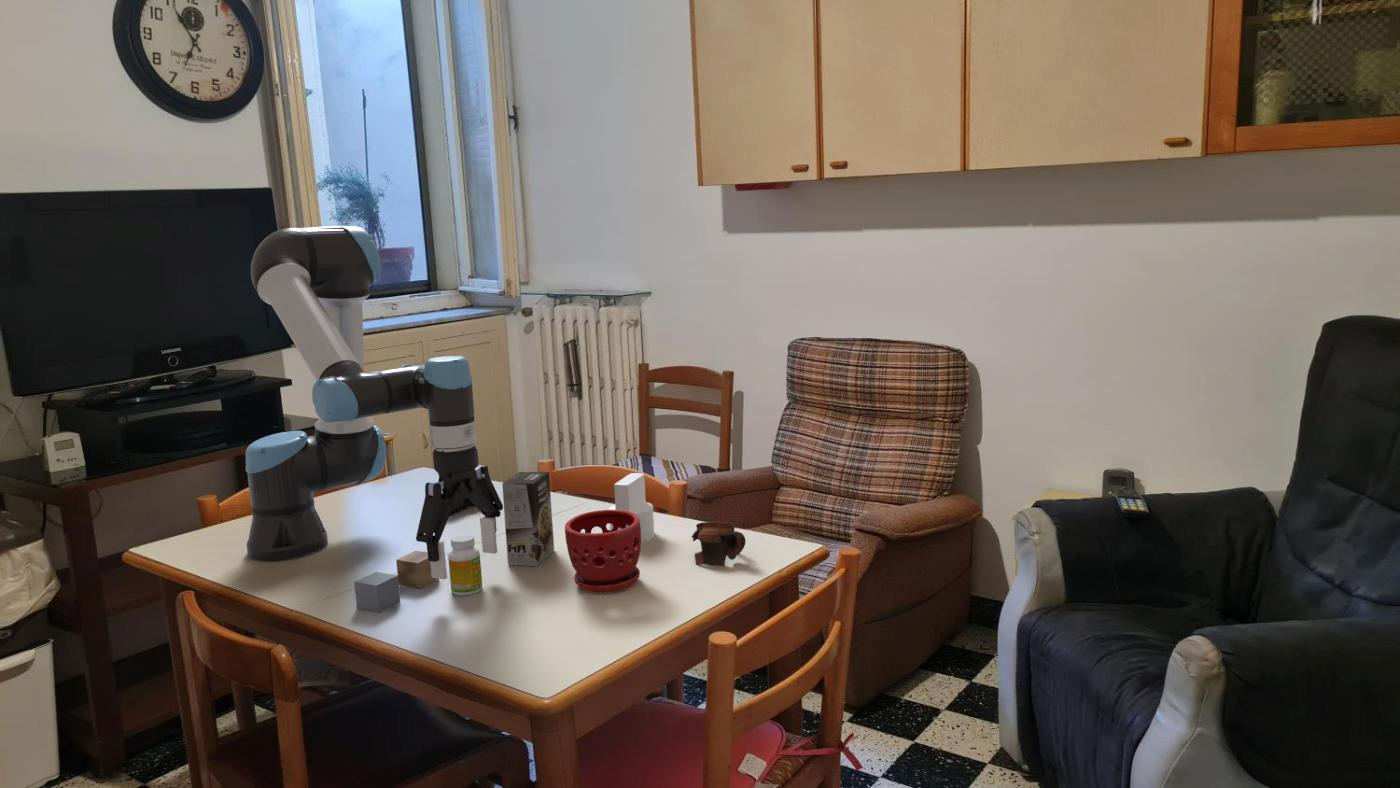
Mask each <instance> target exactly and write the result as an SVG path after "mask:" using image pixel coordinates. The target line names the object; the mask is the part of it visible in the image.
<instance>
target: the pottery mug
mask: <svg viewBox="0 0 1400 788" xmlns="http://www.w3.org/2000/svg"><path fill="white" fill-rule="evenodd" d="M695 527H696V530H695V531H694V533H692V535H691V539H692V542H696V540H698V541H699V542H700V546H701V550H700V551H699V552H695V553H694V561H695V565H710V566H722V567H723V566H725V565H726V559H727V557H728V559H729V560H730V561H732V560H734V559H736V557H737V555H740V554H741V552H742V551H743V550H744V547H745V546H746V536H745V535H744V534H743V533H742V532H741V531H735V528H736V526H735V525H734V524H732V523H729V522H722V521H705V522H699V523H697V524H696V526H695Z"/></svg>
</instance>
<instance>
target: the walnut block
mask: <svg viewBox="0 0 1400 788" xmlns="http://www.w3.org/2000/svg"><path fill="white" fill-rule="evenodd" d="M395 561H396V573H397V575H398V582H399V585H400V586H399V587H404V586H405V587H406V588H411V589H418V590H422V589H423V588H425V587H428V586H429V585H431V584H433V583H435V582H437V581H439V580H438V579H437V578H432V575H431V565H430V561H429V560H428V554H427V551H419V550H414V551H412V552H409V553H408V554H405V555H403V556H401V557H399V558H396V559H395ZM436 580H437V581H436Z"/></svg>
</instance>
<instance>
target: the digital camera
mask: <svg viewBox="0 0 1400 788" xmlns="http://www.w3.org/2000/svg"><path fill="white" fill-rule="evenodd" d="M475 482H476V481H475ZM476 484H477V483H476ZM445 499H447V498H446V497H445ZM474 506H475V505H474V504H473V503H472V501H471V500H470V499H469V498H464V499H463V500H461V501H459V502H457V504H456V506H454V507H453V508H452V510H451V513H450V515H451V516H453V514H454V515H456V514H458V513H460V512H462V510H463V511H465V510H467V509H469V508H471V507H474ZM455 513H456V514H455ZM450 515H449V517H451V516H450Z"/></svg>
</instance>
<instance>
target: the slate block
mask: <svg viewBox="0 0 1400 788" xmlns="http://www.w3.org/2000/svg"><path fill="white" fill-rule="evenodd" d="M353 583H354V584H353V585H354V591H355V592H354V593H355V602H356V609H357V610H359V611H364V612H365V611H366V612H371V613H374V614H381V613H382V612H385V611H386V610H389V609H390V608H392V607H395V606H396V605H398V604H400V603H401V595H400V586H399V582H398V574H392V573H386V572H379V571H374V572H372V573H369V574H368V575H366V576H363V577H362V578H361V577H360V578H358V579H356V580H354V581H353Z"/></svg>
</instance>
